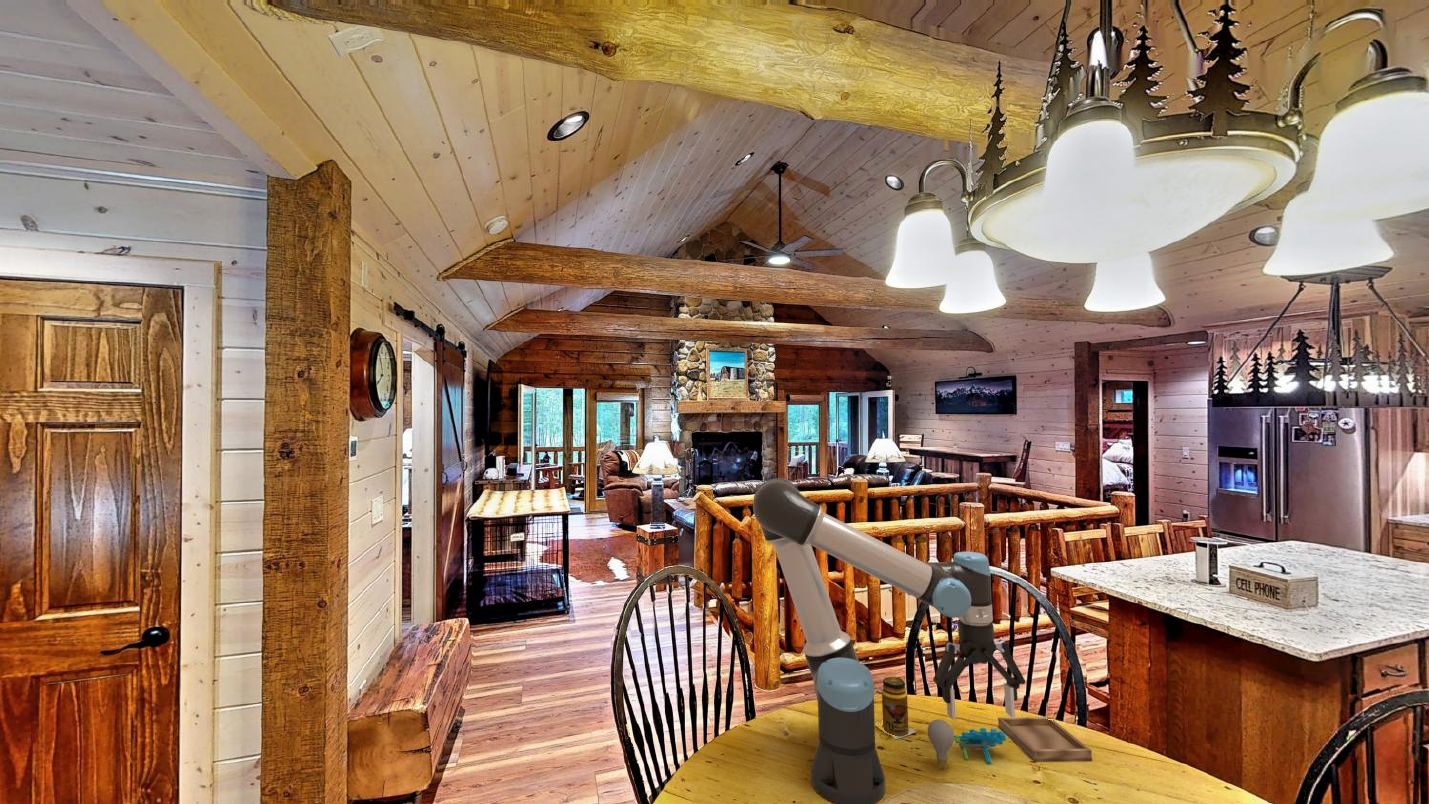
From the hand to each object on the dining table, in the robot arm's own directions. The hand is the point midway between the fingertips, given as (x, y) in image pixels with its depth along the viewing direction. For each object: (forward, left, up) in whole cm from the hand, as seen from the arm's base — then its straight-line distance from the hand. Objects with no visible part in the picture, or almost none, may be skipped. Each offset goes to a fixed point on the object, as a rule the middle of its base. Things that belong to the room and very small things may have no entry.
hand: (981, 716), depth 126 cm
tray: (+17, +5, -9) cm, 19 cm away
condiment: (-16, +12, -9) cm, 22 cm away
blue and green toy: (-1, 0, -9) cm, 9 cm away
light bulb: (-11, -5, -9) cm, 15 cm away
